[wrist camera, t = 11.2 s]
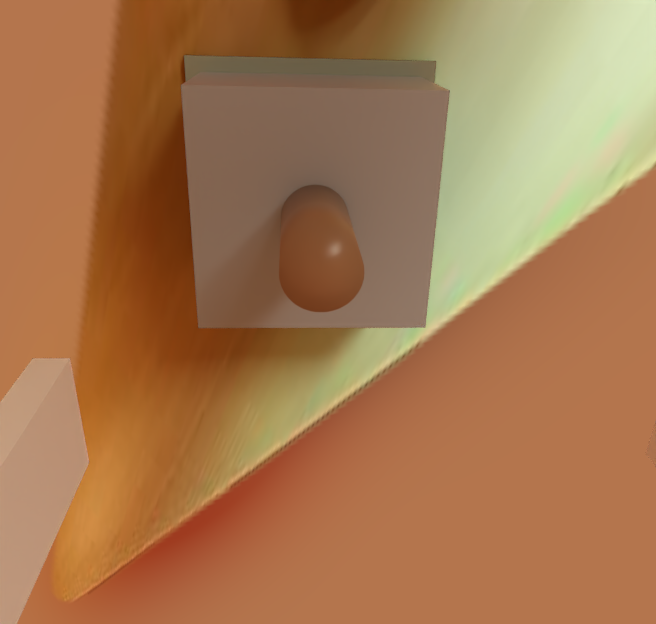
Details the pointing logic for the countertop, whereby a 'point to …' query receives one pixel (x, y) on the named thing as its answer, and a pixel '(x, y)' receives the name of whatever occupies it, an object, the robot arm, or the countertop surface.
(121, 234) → the countertop surface
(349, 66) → the mat
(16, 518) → the robot arm
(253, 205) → the cover
